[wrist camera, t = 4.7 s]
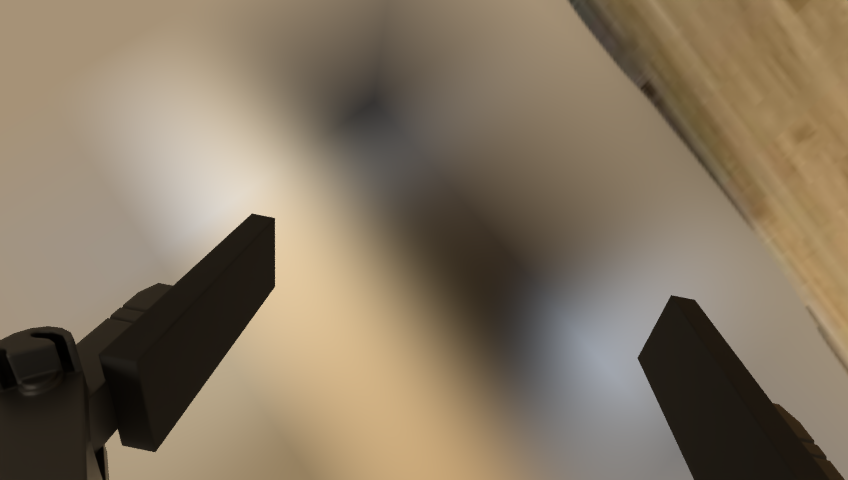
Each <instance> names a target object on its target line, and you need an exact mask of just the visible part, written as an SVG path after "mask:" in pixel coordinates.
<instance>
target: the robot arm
mask: <svg viewBox="0 0 848 480" xmlns="http://www.w3.org/2000/svg"><path fill="white" fill-rule="evenodd" d="M274 287H275V218H272V217H266V216H261V215H256V214H251V215H250V216H249V217H248V218H247V219H246V220H245V221H244V222H243V223H241V224H240V225H239V226H238V227H237V228H236V229H235V230H234V231H233V232H231V233H230V234H229V235H228V236H227V237H226V238H225V239H224V240H223V241H222V242H221V243H220V244H218V246H216V247H215V248H214V249H213V250H212V251H211V252H210V253H209V254H207V256H205V257H204V258H203V259H202V260H201V261H200V262H199V263H198V264H197V265H195V266H194V267H193V268H192V269H191V270H190V271H189V272H188V273H187V274H186V275H185V276H183V277H182V278H181V279H180V280H179V281H178V282H177V283H176V284H175V285H174V286H171V285H166V284H161V283H158V284H156V285H153V286H151V287H149V288H147V289H145V290H143V291H140V292H138V293H137V294H136V295H135V296H133V297H132V298H131V299H130V300H129V301H127V302H126V303H125V304H124V305H123V307H122V308H119V309H118V310H117V311H116V312H114V313H113V314H112V315H111V317H110V319H109V318H107V319H106V320H105V321H104V322H103V323H101V324H100V325H99V326H98V327H97V328H95V329H94V330H93V331H92V332H91V333H89V334H88V335H87V336H86V337H85V338H83V339H82V340H81V341H80V342H79V343H77V344H75V341H74V339H73V337H72V334H71V333H70V332H69V331H67V330H65V329H63V328H58V327H49V326H47V327H38V328H31V329H27V330H24V331H20V332H17V333H14V334H12V335H10V336H8V337H6V338H4V339H2V340H0V480H109V473H108V460H107V451H106V447H105V443H106V442H107V440H108V439H109V438H110V437H111V436H112V435H113V433H114V432H115V431H116V430H117V429H118V431H119V435H120V439H121V443H122V445H123V446H128V447H132V448H137V449H143V450H147V451H152V452H156V451H157V449H158V448H159V446H160V445H161V444H162V442H163V441H164V439H165V438H166V437H167V435H168V434H169V432H170V431H171V430H172V428H173V427H174V426H175V424H176V423H177V421H178V420H179V419H180V417H181V416H182V415H183V413H184V412H185V410H186V409H187V407H188V406H189V405H190V403H191V402H192V401H193V399H194V398H195V396H196V395H197V394H198V392H199V391H200V390H201V388H202V387H203V385H204V384H205V383H206V381H207V380H208V379H209V377H210V376H211V374H212V373H213V372H214V370H215V369H216V367H217V366H218V365H219V363H220V362H221V361H222V359H223V358H224V356H225V355H226V354H227V352H228V351H229V349H230V348H231V347H232V345H233V344H234V343H235V341H236V340H237V338H238V337H239V336H240V334H241V333H242V331H243V330H244V329H245V327H246V326H247V324H248V323H249V321H250V320H251V319H252V318H253V316H254V315H255V313H256V312H257V311H258V309H259V308H260V307H261V305H262V304H263V302H264V301H265V300H266V298H267V297H268V295H269V294H270V292H271V291H272V290H273V289H274ZM638 360H639V362H640V364H641V366H642V368H643V370H644V373H645V375H646V377H647V379H648V381H649V384H650V385H651V388H652V390H653V392H654V394H655V396H656V398H657V401H658V403H659V405H660V407H661V409H662V412H663V414H664V416H665V418H666V420H667V422H668V425H669V427H670V429H671V431H672V433H673V435H674V437H675V440H676V442H677V444H678V446H679V448H680V450H681V452H682V455H683V457H684V459H685V461H686V463H687V465H688V467H689V470H690V472H691V474H692V476H693V478H694V480H844V478H843V477H842V476H841V475H840V473H839V472H838V471H837V469H836V468H835V467H834V466H833V464H832V463H831V462H830V461H828V460H827V459H826V456H825V454H824V453H823V452H822V450H821V449H820V448H819V446H817V445H815V444H814V440H813V439H812V438H811V436H810V435H809V434H808V432H807V431H806V430H805V429H804V427H803V426H802V425H801V423H800V422H799V421H798V420H796V419H795V418H794V417H793V416H792V415H791V414H789V413H788V412H787V411H786V410H785V409H784V408H783V407H781V406H780V405H779V404H774V403H772V402H771V401H770V399H769V398H768V397H767V395H766V394H765V393H764V391H763V390H762V389H761V388H760V386H759V385H758V383H757V382H756V381H755V379H754V378H753V377H752V375H751V374H750V373H749V371H748V370H747V369H746V367H745V366H744V365H743V363H742V362H741V361H740V359H739V358H738V357H737V355H736V354H735V353H734V351H733V350H732V349H731V347H730V346H729V345H728V343H727V342H726V341H725V339H724V338H723V337H722V335H721V334H720V333H719V332H718V330H717V329H716V328H715V326H714V325H713V324H712V322H711V321H710V320H709V318H708V317H707V316H706V314H705V313H704V312H703V310H702V309H701V308H700V306H699V305H698V304H697V302H696V301H695V300H692V299H687V298H682V297H677V296H672V295H671V297H670V299H669V301H668V302H667V304H666V306H665V308H664V310H663V312H662V314H661V316H660V317H659V319H658V321H657V323H656V325H655V327H654V329H653V330H652V332H651V334H650V336H649V338H648V340H647V342H646V343H645V345H644V347H643V349H642V351H641V353H640V355H639V357H638Z"/></svg>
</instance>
